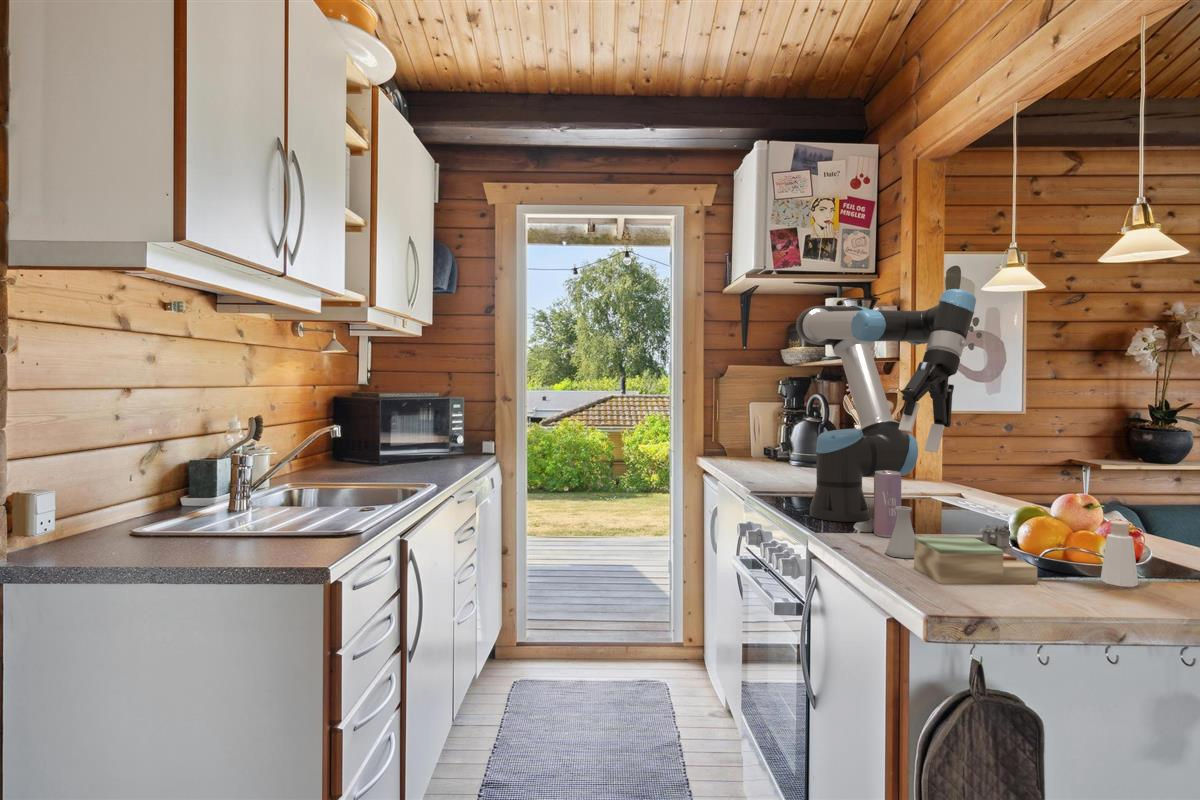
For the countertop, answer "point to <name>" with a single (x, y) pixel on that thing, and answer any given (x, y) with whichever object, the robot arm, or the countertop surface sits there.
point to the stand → (969, 562)
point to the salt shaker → (1119, 557)
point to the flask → (902, 535)
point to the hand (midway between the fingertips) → (918, 441)
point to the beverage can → (886, 501)
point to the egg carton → (996, 535)
